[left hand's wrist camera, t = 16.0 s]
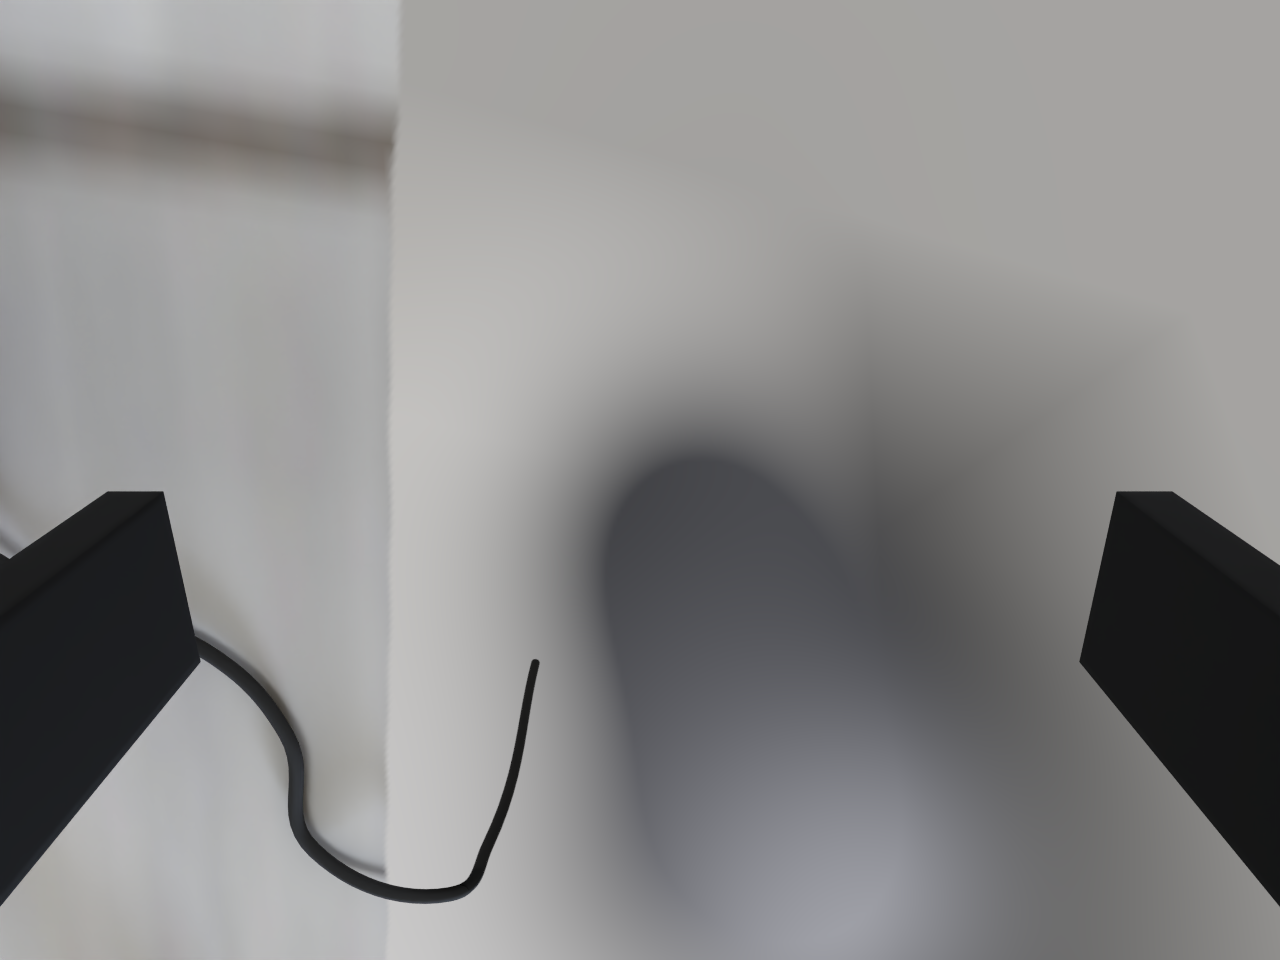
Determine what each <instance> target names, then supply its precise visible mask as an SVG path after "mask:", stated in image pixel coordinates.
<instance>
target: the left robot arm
mask: <svg viewBox="0 0 1280 960" xmlns="http://www.w3.org/2000/svg"><path fill="white" fill-rule="evenodd" d="M200 657H201V658H202V659H204V660H205V661H207V662H208V663H210V664H211V665H213V666H214V667H216V668H217V669H219V670H220V671H221V672H223V673H224V674H225V675H227V676H228V677H229V678H230V679H232V680H233V681H234V682H235V683H236V684H237V685H238V686H240V687H241V688H242V689H243V690H244V691H245V692H246V693H247V694H248V695H249V696H250V697H251V699H252V700H253V701H254V702H255V703H256V704H257V706H258V707H259V708H260V709H261V711H262V712H263V713H264V715H265V716H266V718H267V719H268V720H269V722H270V723H271V725H272V726H273V728H274V730H275V731H276V733H277V734H278V736H279V738H280V740H281V742H282V744H283V746H284V748H285V752H286V755H287V759H288V766H289V791H288V815H289V821H290V826H291V828H292V831H293V833H294V836H295V838H296V840H297V841H298V843H299V844H300V846H301V847H302V848H303V850H304V851H305V852H306V853H307V854H308V855H309V856H310V857H311V858H312V859H313V860H315V861H316V862H317V863H318V864H319V865H320V866H322V867H323V868H324V869H326V870H327V871H328V872H330V873H331V874H333V875H334V876H336V877H337V878H339V879H340V880H342V881H344V882H345V883H347V884H349V885H351V886H353V887H355V888H357V889H359V890H361V891H364V892H366V893H369V894H372V895H374V896H378V897H381V898H385V899H389V900H394V901H399V902H406V903H419V904H430V903H442V902H449V901H454V900H457V899H460V898H463V897H465V896H466V895H468V894H470V893H471V892H472V891H473V890H474V889H475V888H476V887H477V886H478V884H479V883H480V881H481V879H482V877H483V875H484V872H485V869H486V866H487V863H488V860H489V857H490V854H491V852H492V849H493V847H494V845H495V842H496V840H497V838H498V835H499V833H500V831H501V829H502V826H503V823H504V821H505V818H506V815H507V812H508V810H509V807H510V803H511V800H512V797H513V794H514V790H515V787H516V783H517V779H518V775H519V771H520V766H521V762H522V756H523V751H524V746H525V740H526V734H527V728H528V722H529V716H530V710H531V704H532V698H533V693H534V687H535V682H536V677H537V673H538V669H539V665H540V662H539V660H537V659H533V660H532V661H531V665H530V669H529V673H528V678H527V682H526V687H525V692H524V697H523V702H522V708H521V713H520V719H519V725H518V730H517V736H516V741H515V746H514V751H513V755H512V760H511V764H510V768H509V773H508V776H507V780H506V783H505V787H504V790H503V793H502V796H501V799H500V802H499V805H498V808H497V810H496V813H495V815H494V818H493V820H492V823H491V825H490V827H489V830H488V832H487V834H486V836H485V838H484V841H483V843H482V845H481V847H480V850H479V852H478V855H477V858H476V861H475V864H474V867H473V869H472V871H471V873H470V875H469V877H468V878H467V879H466V880H465V881H464V882H462V883H461V884H458V885H456V886H452V887H448V888H440V889H412V888H404V887H398V886H394V885H390V884H386V883H383V882H380V881H377V880H374V879H372V878H369V877H367V876H365V875H363V874H360V873H358V872H357V871H355V870H353V869H351V868H349V867H348V866H346V865H345V864H343V863H342V862H340V861H339V860H337V859H336V858H335V857H333V856H332V855H331V854H330V853H328V852H327V851H326V850H325V849H324V848H323V847H321V846H320V845H319V844H318V843H317V841H316V840H315V839H314V838H313V837H312V836H311V834H310V833H309V831H308V829H307V827H306V824H305V821H304V815H303V787H304V764H303V757H302V752H301V749H300V746H299V742H298V740H297V738H296V736H295V734H294V732H293V730H292V728H291V727H290V725H289V723H288V722H287V720H286V718H285V717H284V715H283V714H282V712H281V711H280V709H279V708H278V706H277V705H276V703H275V702H274V701H273V699H272V698H271V697H270V696H269V694H268V693H267V692H266V691H265V690H264V688H263V687H262V686H261V685H260V684H259V683H258V682H257V681H256V680H255V679H254V678H253V677H252V676H251V675H250V674H249V673H248V672H246V671H245V670H244V669H243V668H242V667H241V666H239V665H238V664H237V663H236V662H234V661H233V660H232V659H230V658H229V657H228V656H226V655H225V654H223V653H222V652H220V651H219V650H217V649H216V648H214V647H213V646H211V645H210V644H208V643H206V642H204V641H203V640H201V639H199V638H197V637H196V636H195V634H194V630H193V625H192V620H191V616H190V611H189V607H188V602H187V597H186V593H185V588H184V584H183V579H182V575H181V570H180V565H179V561H178V556H177V552H176V547H175V543H174V538H173V533H172V529H171V524H170V520H169V515H168V510H167V506H166V501H165V497H164V492H106V493H105V494H103V495H102V496H100V497H99V498H98V499H96V500H95V501H93V502H92V503H90V504H89V505H87V506H86V507H84V508H83V509H82V510H80V511H79V512H77V513H76V514H74V515H73V516H71V517H70V518H68V519H67V520H66V521H64V522H63V523H61V524H60V525H58V526H57V527H55V528H54V529H52V530H51V531H50V532H48V533H47V534H45V535H44V536H42V537H41V538H39V539H38V540H36V541H35V542H34V543H32V544H31V545H29V546H28V547H26V548H25V549H23V550H22V551H21V552H19V553H18V554H16V555H15V556H13V557H12V558H10V559H8V558H7V557H5V556H4V555H2V554H0V906H1V905H2V904H3V902H4V901H5V900H6V899H7V898H8V896H9V895H10V894H11V893H12V892H13V890H14V889H15V888H16V887H17V885H18V884H19V883H20V882H21V881H22V879H23V878H24V877H25V876H26V874H27V873H28V872H29V871H30V870H31V868H32V867H33V866H34V865H35V863H36V862H37V861H38V860H39V859H40V857H41V856H42V855H43V854H44V852H45V851H46V850H47V849H48V848H49V846H50V845H51V844H52V843H53V841H54V840H55V839H56V838H57V837H58V835H59V834H60V833H61V832H62V830H63V829H64V828H65V827H66V826H67V824H68V823H69V822H70V821H71V819H72V818H73V817H74V816H75V815H76V813H77V812H78V811H79V810H80V808H81V807H82V806H83V805H84V804H85V802H86V801H87V800H88V799H89V797H90V796H91V795H92V794H93V793H94V791H95V790H96V789H97V788H98V787H99V785H100V784H101V783H102V782H103V780H104V779H105V778H106V777H107V776H108V774H109V773H110V772H111V771H112V769H113V768H114V767H115V766H116V765H117V763H118V762H119V761H120V760H121V758H122V757H123V756H124V755H125V754H126V752H127V751H128V750H129V749H130V747H131V746H132V745H133V744H134V743H135V741H136V740H137V739H138V738H139V736H140V735H141V734H142V733H143V732H144V730H145V729H146V728H147V727H148V725H149V724H150V723H151V722H152V721H153V719H154V718H155V717H156V716H157V714H158V713H159V712H160V711H161V710H162V708H163V707H164V706H165V705H166V703H167V702H168V701H169V700H170V699H171V697H172V696H173V695H174V694H175V693H176V691H177V690H178V689H179V688H180V686H181V685H182V684H183V683H184V682H185V680H186V679H187V678H188V677H189V675H190V674H191V673H192V672H193V671H194V669H195V668H196V667H197V666H198V664H199V663H200ZM1080 663H1081V664H1082V666H1083V667H1084V668H1085V669H1086V670H1087V672H1088V673H1089V674H1090V675H1091V677H1092V678H1093V679H1094V680H1095V682H1096V683H1097V684H1098V685H1099V686H1100V688H1101V689H1102V690H1103V691H1104V692H1105V694H1106V695H1107V696H1108V697H1109V699H1110V700H1111V701H1112V702H1113V703H1114V705H1115V706H1116V707H1117V708H1118V710H1119V711H1120V712H1121V713H1122V714H1123V716H1124V717H1125V718H1126V719H1127V721H1128V722H1129V723H1130V724H1131V725H1132V727H1133V728H1134V729H1135V730H1136V732H1137V733H1138V734H1139V735H1140V736H1141V738H1142V739H1143V740H1144V741H1145V743H1146V744H1147V745H1148V746H1149V747H1150V749H1151V750H1152V751H1153V752H1154V754H1155V755H1156V756H1157V757H1158V758H1159V760H1160V761H1161V762H1162V763H1163V765H1164V766H1165V767H1166V768H1167V769H1168V771H1169V772H1170V773H1171V774H1172V775H1173V777H1174V778H1175V779H1176V780H1177V782H1178V783H1179V784H1180V785H1181V786H1182V788H1183V789H1184V790H1185V791H1186V793H1187V794H1188V795H1189V796H1190V797H1191V799H1192V800H1193V801H1194V802H1195V804H1196V805H1197V806H1198V807H1199V808H1200V810H1201V811H1202V812H1203V813H1204V815H1205V816H1206V817H1207V818H1208V819H1209V821H1210V822H1211V823H1212V824H1213V826H1214V827H1215V828H1216V829H1217V830H1218V832H1219V833H1220V834H1221V835H1222V837H1223V838H1224V839H1225V840H1226V841H1227V843H1228V844H1229V845H1230V846H1231V848H1232V849H1233V850H1234V851H1235V852H1236V854H1237V855H1238V856H1239V857H1240V859H1241V860H1242V861H1243V862H1244V863H1245V865H1246V866H1247V867H1248V868H1249V870H1250V871H1251V872H1252V873H1253V874H1254V876H1255V877H1256V878H1257V879H1258V880H1259V882H1260V883H1261V884H1262V885H1263V887H1264V888H1265V889H1266V890H1267V892H1268V893H1269V894H1270V895H1271V896H1272V898H1273V899H1274V900H1275V901H1276V902H1277V904H1278V905H1279V906H1280V565H1278V564H1277V563H1275V562H1274V561H1273V560H1271V559H1270V558H1268V557H1267V556H1265V555H1264V554H1262V553H1261V552H1259V551H1258V550H1257V549H1255V548H1254V547H1252V546H1251V545H1249V544H1248V543H1246V542H1245V541H1243V540H1242V539H1241V538H1239V537H1238V536H1236V535H1235V534H1233V533H1232V532H1230V531H1229V530H1228V529H1226V528H1225V527H1223V526H1222V525H1220V524H1219V523H1217V522H1216V521H1214V520H1213V519H1212V518H1210V517H1209V516H1207V515H1206V514H1204V513H1203V512H1201V511H1200V510H1198V509H1197V508H1196V507H1194V506H1193V505H1191V504H1190V503H1188V502H1187V501H1185V500H1184V499H1182V498H1181V497H1180V496H1178V495H1177V494H1175V493H1174V492H1116V497H1115V501H1114V506H1113V511H1112V515H1111V520H1110V524H1109V529H1108V533H1107V538H1106V543H1105V547H1104V552H1103V556H1102V561H1101V565H1100V570H1099V575H1098V579H1097V584H1096V588H1095V593H1094V597H1093V602H1092V607H1091V611H1090V616H1089V621H1088V625H1087V630H1086V634H1085V639H1084V643H1083V648H1082V653H1081V657H1080Z"/></svg>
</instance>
